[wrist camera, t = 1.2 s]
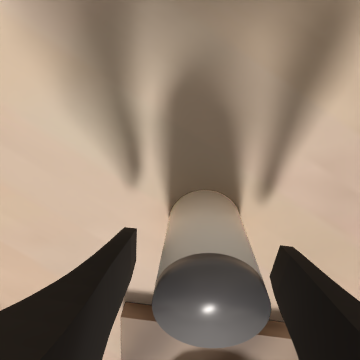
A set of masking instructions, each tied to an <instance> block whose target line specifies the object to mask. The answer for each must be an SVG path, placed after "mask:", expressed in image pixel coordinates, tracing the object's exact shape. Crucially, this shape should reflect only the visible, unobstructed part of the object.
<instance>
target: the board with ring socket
mask: <svg viewBox="0 0 360 360" xmlns="http://www.w3.org/2000/svg"><path fill="white" fill-rule="evenodd" d="M121 360H299V359H298V356H297V353H296V350H295V347H294V345H293V342H292V340H291V337H290V335H289V332H288V330H287V327H286V324H285V322H277V321H269V320H268V322H267V324H266V325H265V327H264V328H263V329H262V330H261V331H260V332H259V333H258V334H257V335H256V336H254V337H253V338H251V339H250V340H248V341H246V342H243V343H241V344H238V345H235V346H231V347H225V348H202V347H196V346H192V345H188V344H186V343H183V342H181V341H179V340H176V339H175V338H173V337H171V336H170V335H169V334H167V333H166V332H165V331H164V330H163V329H162V328H161V327H160V326H159V324H158V323H157V321H156V320H155V317H154V315H153V311H152V305H144V304H136V303H129V302H125V305H124V308H123V311H122V314H121Z"/></svg>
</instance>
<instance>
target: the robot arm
mask: <svg viewBox="0 0 360 360" xmlns="http://www.w3.org/2000/svg"><path fill="white" fill-rule="evenodd" d="M136 239H137V229H135V228H126V227H125V228H123V229H122V230H121V231H120V232H119V233H118V234H117V235H116V236H114V237H113V238H112V239H111V240H110V241H109V242H108V243H107V244H106V245H104V246H103V247H102V248H101V249H100V250H98V251H97V252H96V253H95V254H94V255H92V256H91V257H90V258H89V259H87V260H86V261H85V262H83V263H82V264H81V265H79V266H78V267H77V268H75V269H74V270H72V271H71V272H70V273H68V274H67V275H65V276H64V277H62V278H60V279H59V280H57V281H56V282H54V283H52V284H51V285H49V286H47V287H45V288H44V289H42V290H40V291H38V292H37V293H35V294H33V295H31V296H29V297H27V298H25V299H24V300H22V301H20V302H18V303H16V304H14V305H12V306H10V307H7V308H5V309H3V310H1V311H0V360H102V358H103V354H104V351H105V348H106V344H107V341H108V338H109V335H110V332H111V329H112V326H113V324H114V321H115V318H116V316H117V313H118V311H119V308H120V306H121V303H122V301H123V298H124V296H125V293H126V291H127V288H128V286H129V283H130V281H131V277H132V274H133V270H134V266H135V263H136ZM270 280H271V284H272V288H273V292H274V296H275V299H276V301H277V304H278V307H279V309H280V312H281V314H282V317H283V319H284V322H285V324H286V327H287V330H288V332H289V335H290V337H291V340H292V342H293V345H294V347H295V350H296V353H297V356H298V359H299V360H360V301H358V300H357V299H356V298H354V297H353V296H352V295H351V294H349V293H348V292H347V291H345V290H344V289H343V288H342V287H340V286H339V285H338V284H337V283H335V282H334V281H333V280H332V279H331V278H329V277H328V276H327V275H326V274H325V273H323V272H322V271H321V270H320V269H319V268H317V267H316V266H315V265H314V264H313V263H312V262H310V261H309V260H308V259H307V258H306V257H305V256H303V255H302V254H301V253H300V252H299V251H297V250H296V249H295V248H293V247H289V246H281V245H280V248H279V250H278V253H277V256H276V259H275V262H274V265H273V268H272V271H271V274H270Z"/></svg>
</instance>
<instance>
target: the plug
mask: <svg viewBox="0 0 360 360" xmlns="http://www.w3.org/2000/svg"><path fill="white" fill-rule="evenodd" d="M152 311H153V315H154V317H155V320H156V321H157V323H158V324H159V326H160V327H161V328H162V329H163V330H164V331H165V332H166V333H167V334H169V335H170V336H171V337H173V338H175V339H176V340H179V341H181V342H183V343H186V344H188V345H192V346H196V347H202V348H225V347H231V346H235V345H238V344H241V343H243V342H246V341H248V340H250V339H251V338H253V337H254V336H256V335H257V334H258V333H259V332H260V331H261V330H262V329H263V328H264V327H265V325H266V324H267V322H268V320H269V317H270V313H271V303H270V299H269V296H268V293H267V290H266V288H265V285H264V282H263V279H262V276H261V273H260V271H259V268H258V265H257V262H256V259H255V256H254V254H253V251H252V248H251V245H250V242H249V240H248V237H247V234H246V231H245V228H244V225H243V223H242V220H241V217H240V214H239V211H238V209H237V207H236V205H235V204H234V203H233V202H232V200H231V199H229V198H228V197H227V196H225V195H223V194H221V193H219V192H216V191H211V190H198V191H194V192H190V193H188V194H186V195H184V196H183V197H181V198H180V199H179V200H178V201H177V202H176V203H175V205H174V206H173V208H172V210H171V213H170V217H169V222H168V227H167V232H166V236H165V241H164V246H163V251H162V256H161V261H160V265H159V270H158V275H157V280H156V285H155V290H154V295H153V300H152Z"/></svg>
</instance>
